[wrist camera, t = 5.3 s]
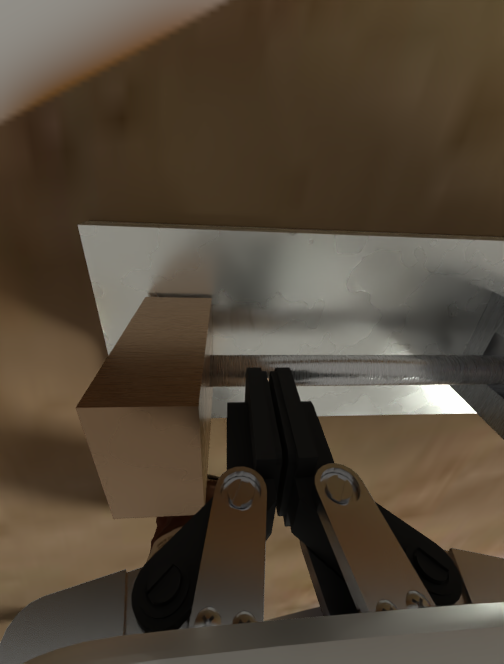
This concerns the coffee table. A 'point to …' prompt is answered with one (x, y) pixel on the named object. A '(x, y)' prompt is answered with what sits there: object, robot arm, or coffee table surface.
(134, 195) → the coffee table surface
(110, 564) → the coffee table surface
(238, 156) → the coffee table surface
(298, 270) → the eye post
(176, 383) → the brown block with rod
